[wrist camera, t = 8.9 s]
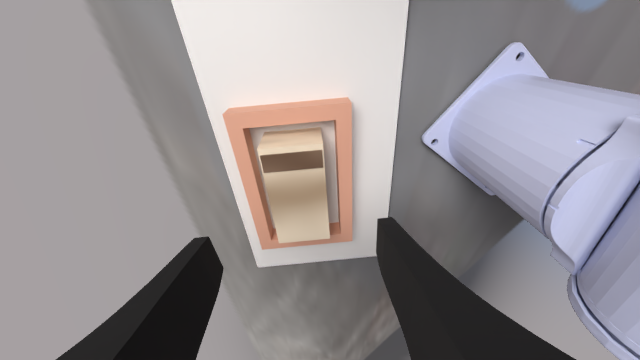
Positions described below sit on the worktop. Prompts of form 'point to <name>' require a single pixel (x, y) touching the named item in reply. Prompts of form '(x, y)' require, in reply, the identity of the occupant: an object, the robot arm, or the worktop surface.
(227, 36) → the white mat
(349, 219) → the terracotta frame
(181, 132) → the worktop surface
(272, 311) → the worktop surface
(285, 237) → the maple block
